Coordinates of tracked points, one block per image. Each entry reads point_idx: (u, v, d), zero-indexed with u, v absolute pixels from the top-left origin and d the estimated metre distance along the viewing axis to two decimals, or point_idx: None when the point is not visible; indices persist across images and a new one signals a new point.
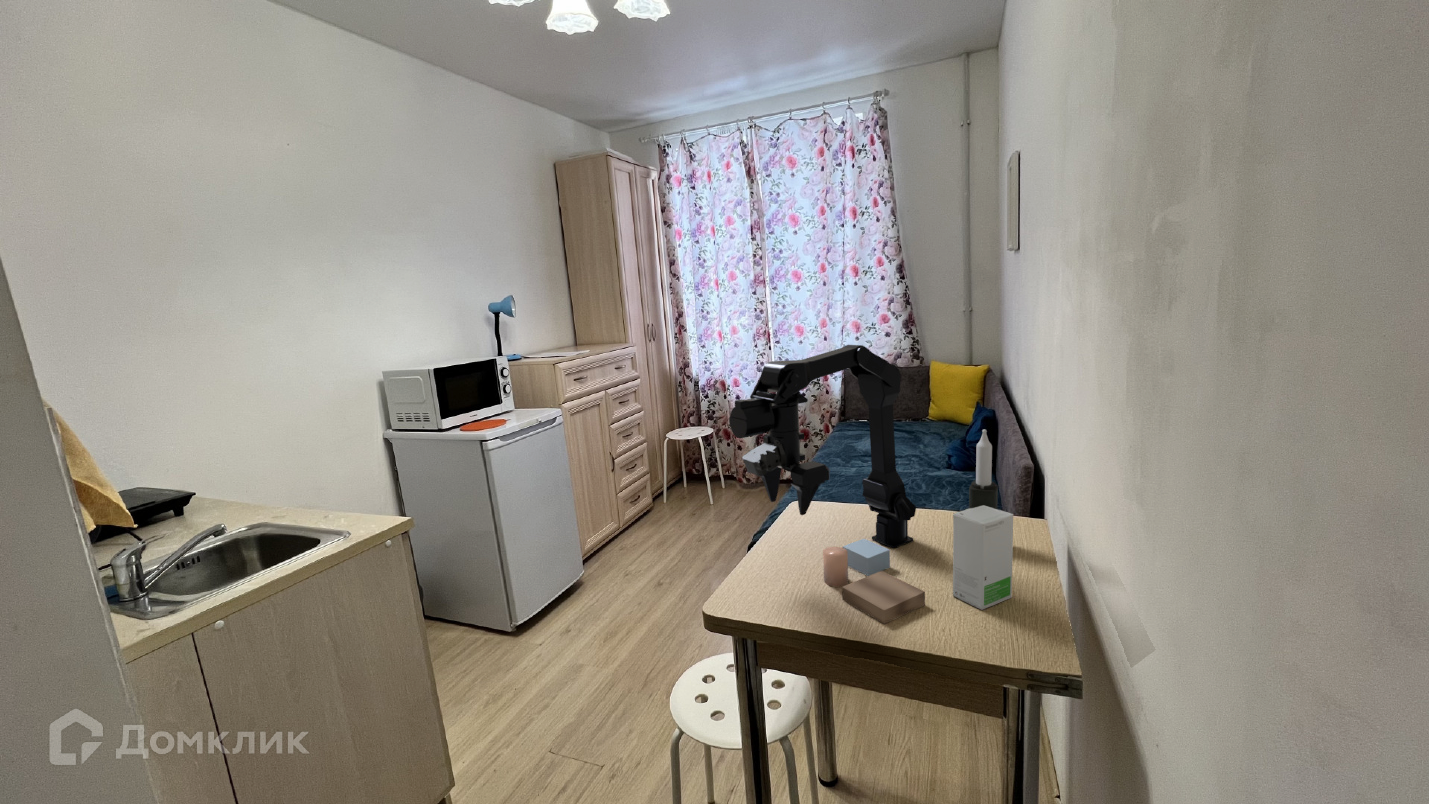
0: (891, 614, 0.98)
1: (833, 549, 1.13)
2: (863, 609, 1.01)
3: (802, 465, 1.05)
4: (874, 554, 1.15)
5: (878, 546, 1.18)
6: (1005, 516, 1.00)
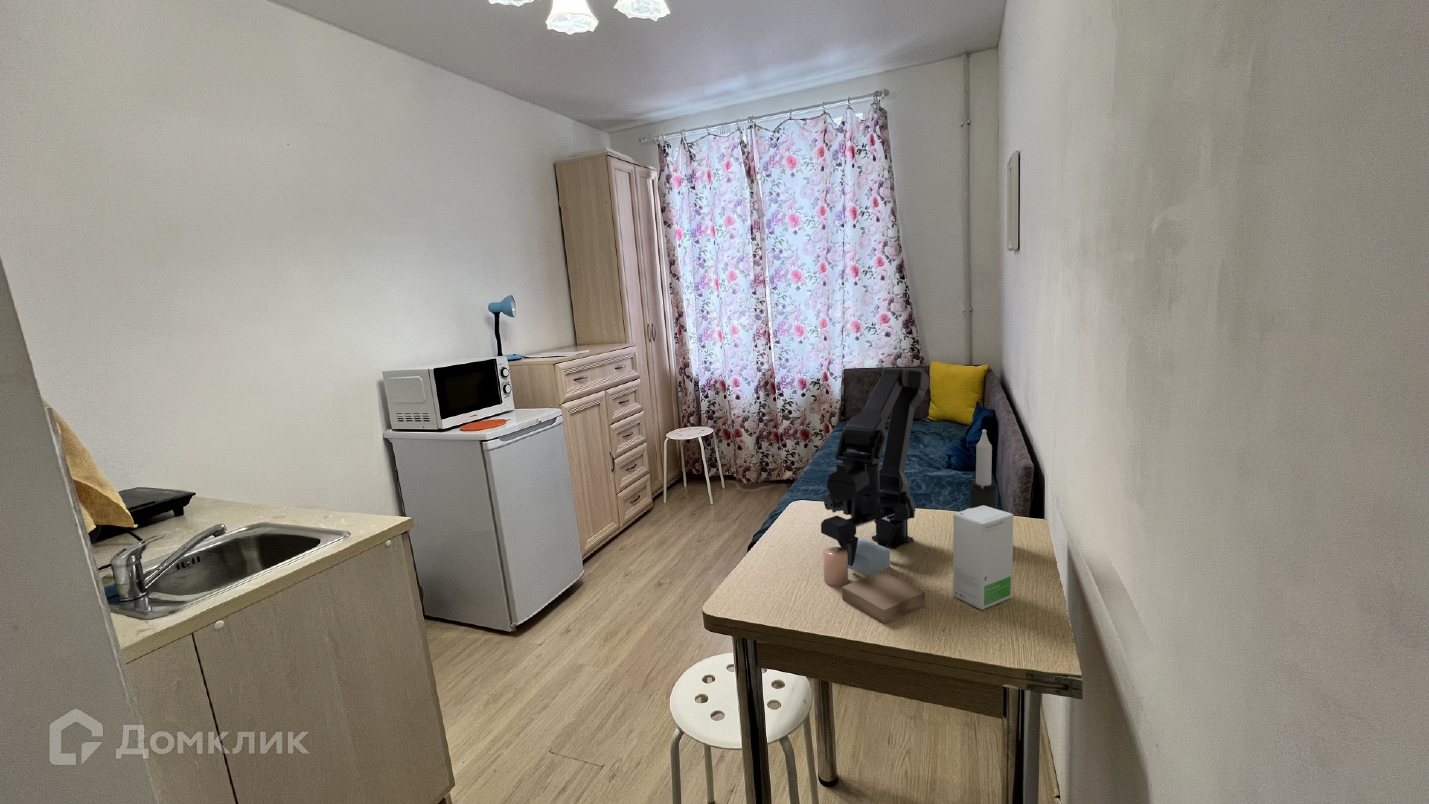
0: (891, 614, 0.98)
1: (833, 549, 1.13)
2: (863, 609, 1.01)
3: (837, 518, 1.14)
4: (875, 554, 1.15)
5: (878, 546, 1.18)
6: (1005, 516, 1.00)
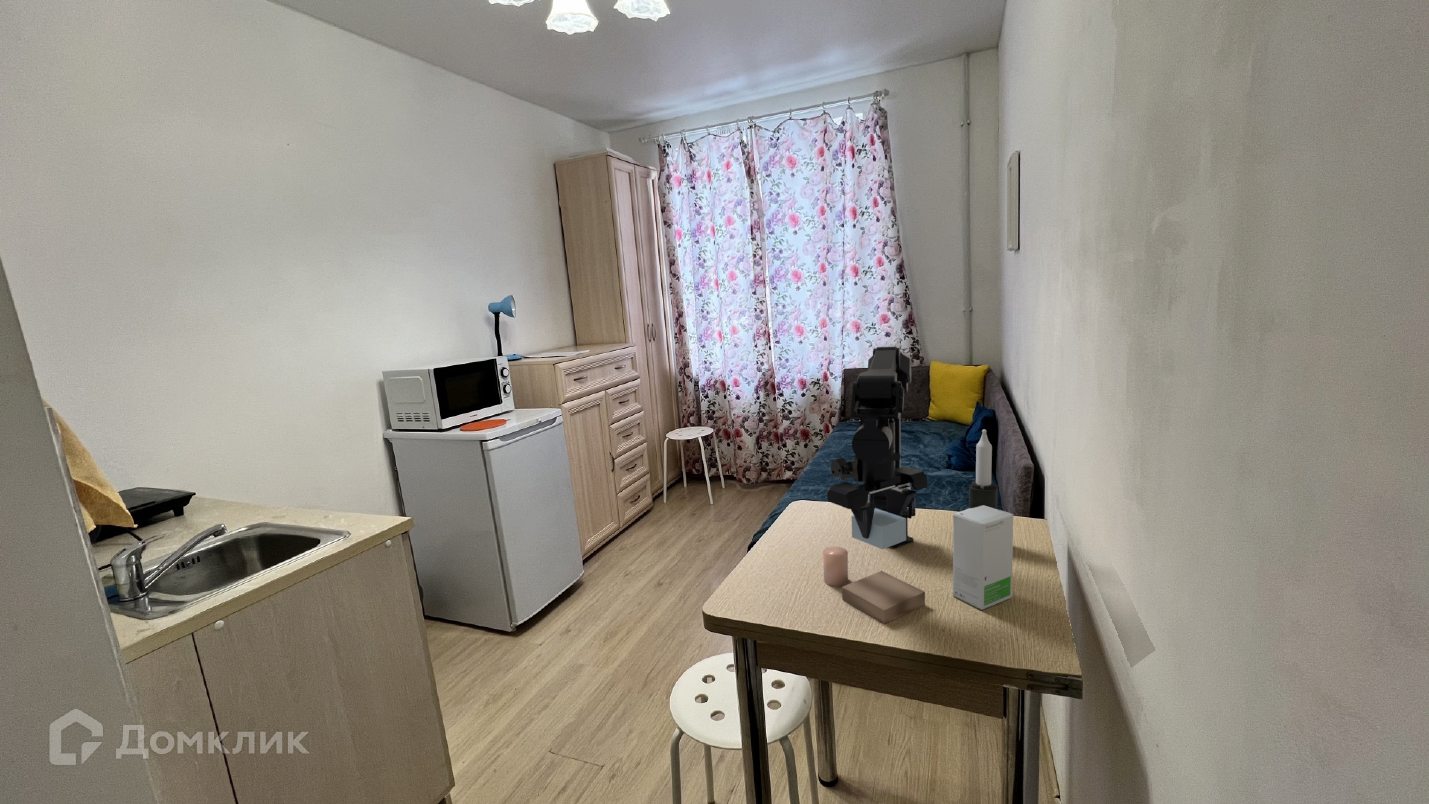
0: (891, 614, 0.98)
1: (833, 549, 1.13)
2: (863, 609, 1.01)
3: (846, 484, 0.99)
4: (889, 523, 1.00)
5: (892, 515, 1.03)
6: (1005, 516, 1.00)
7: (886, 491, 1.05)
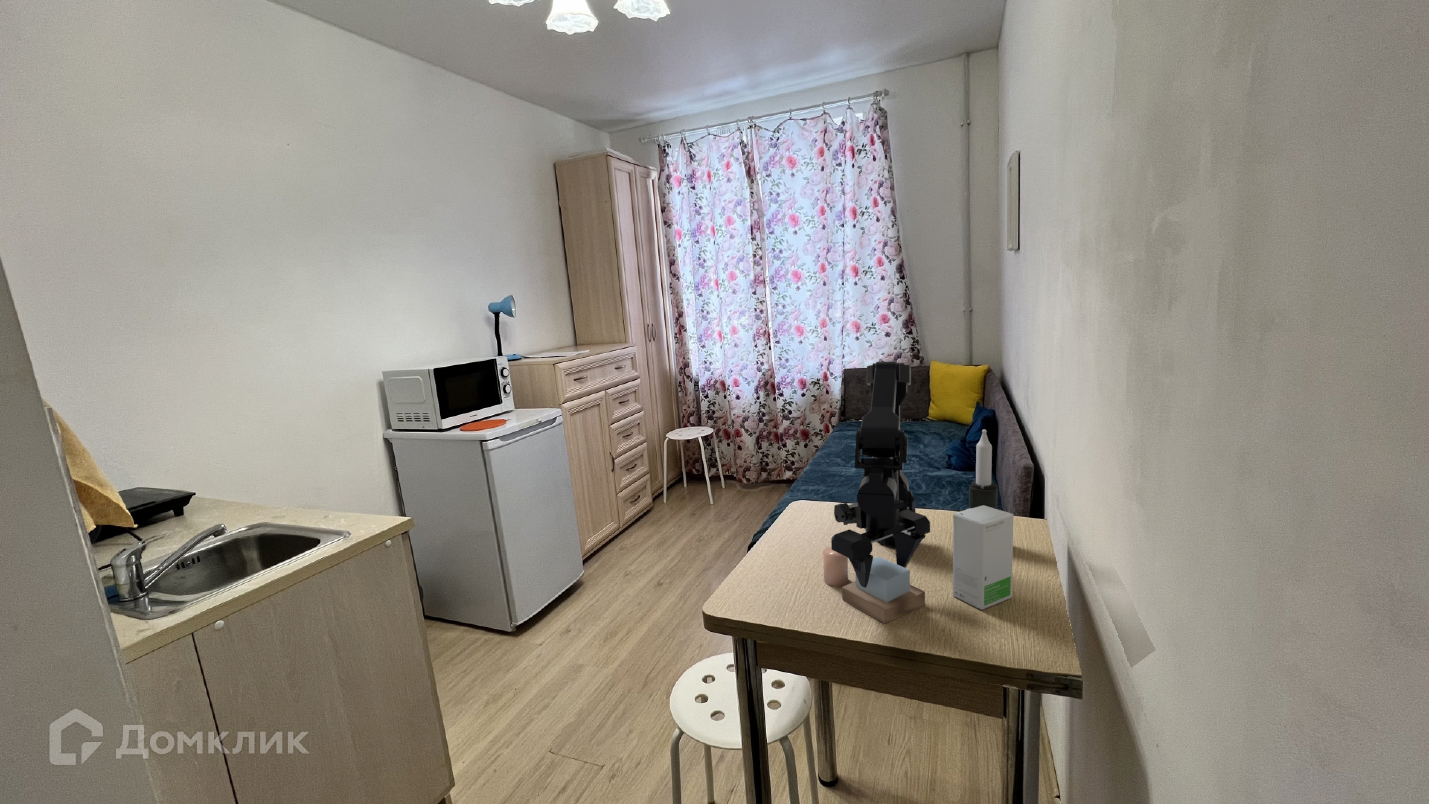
0: (891, 614, 0.98)
1: None
2: (863, 609, 1.01)
3: (850, 532, 0.99)
4: (893, 576, 1.00)
5: (896, 566, 1.03)
6: (1005, 516, 1.00)
7: (895, 533, 1.06)
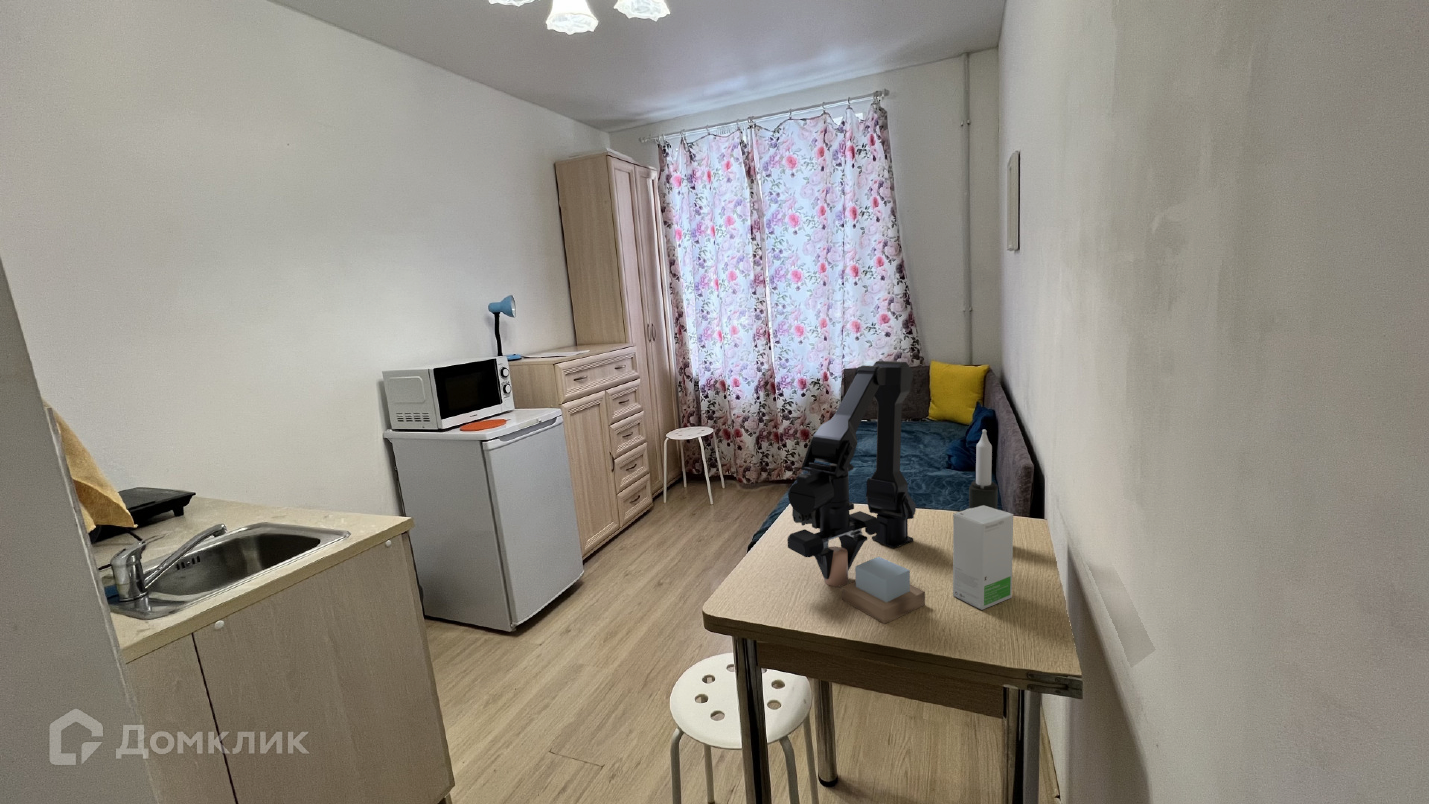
0: (891, 614, 0.98)
1: (833, 549, 1.13)
2: (863, 609, 1.01)
3: (804, 532, 1.09)
4: (893, 576, 1.00)
5: (896, 566, 1.03)
6: (1005, 516, 1.00)
7: (840, 536, 1.15)
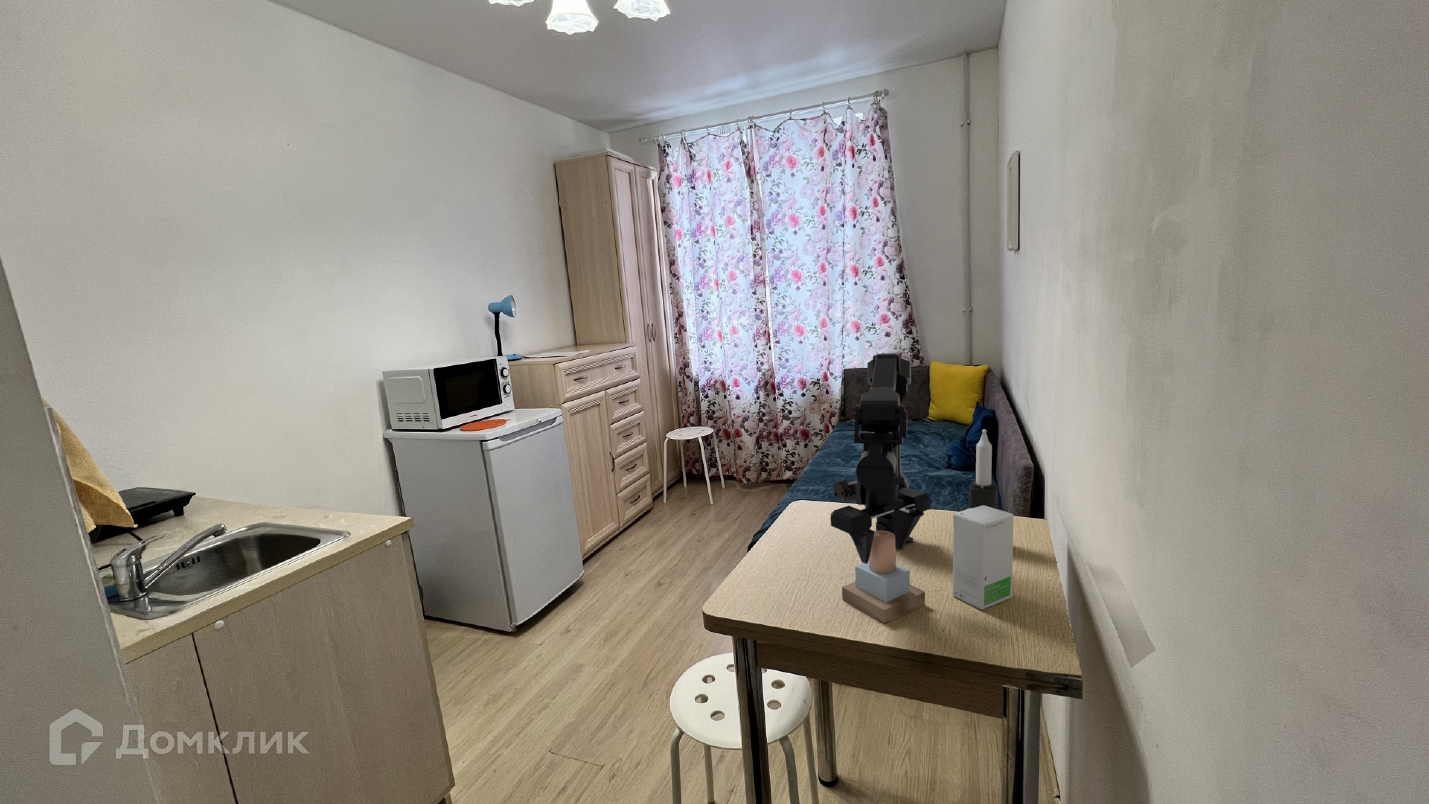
0: (891, 614, 0.98)
1: (879, 533, 1.03)
2: (863, 609, 1.01)
3: (849, 508, 0.99)
4: (893, 576, 1.00)
5: (896, 566, 1.03)
6: (1005, 516, 1.00)
7: (893, 511, 1.05)
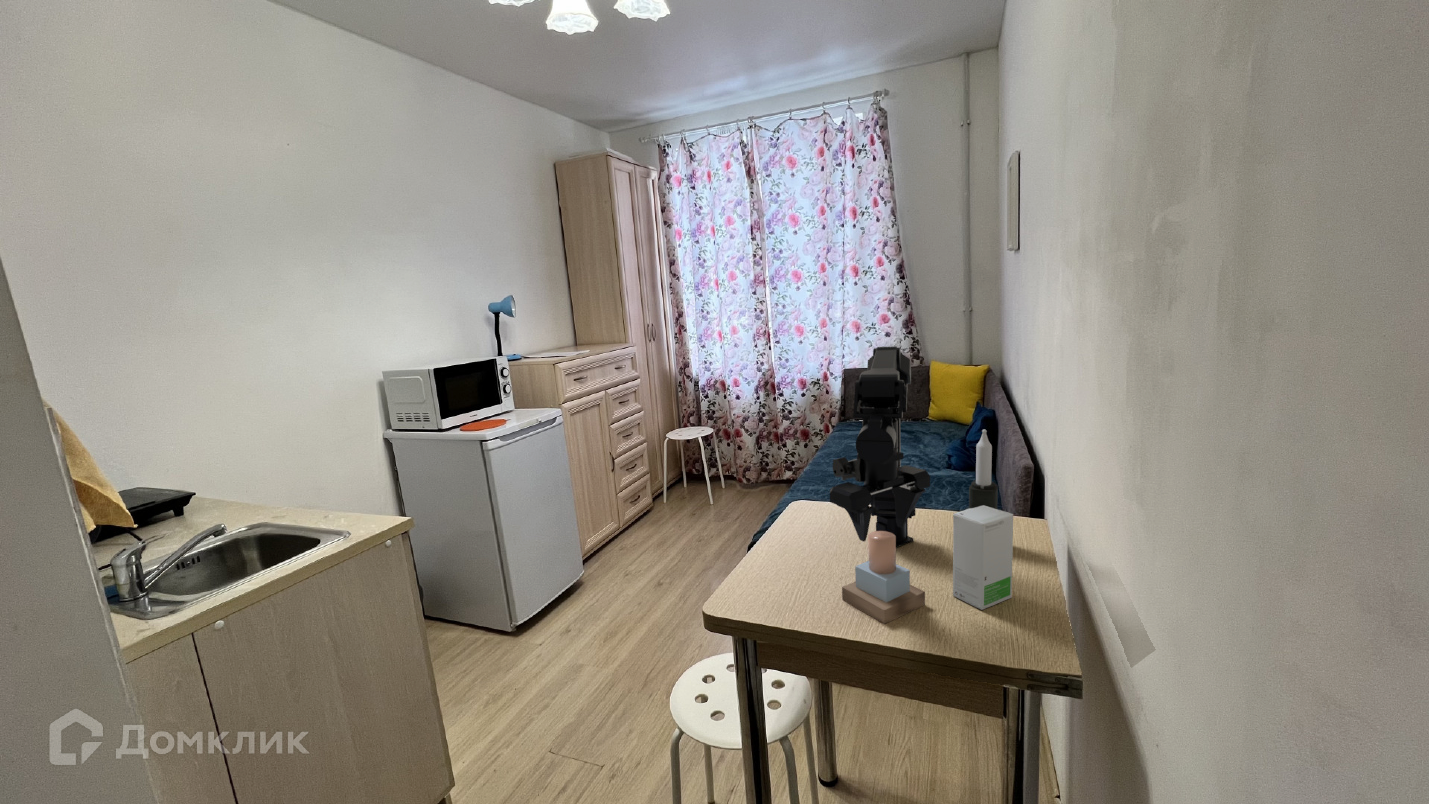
0: (891, 614, 0.98)
1: (879, 533, 1.03)
2: (863, 609, 1.01)
3: (848, 484, 0.98)
4: (893, 576, 1.00)
5: (896, 566, 1.03)
6: (1005, 516, 1.00)
7: (894, 489, 1.05)
